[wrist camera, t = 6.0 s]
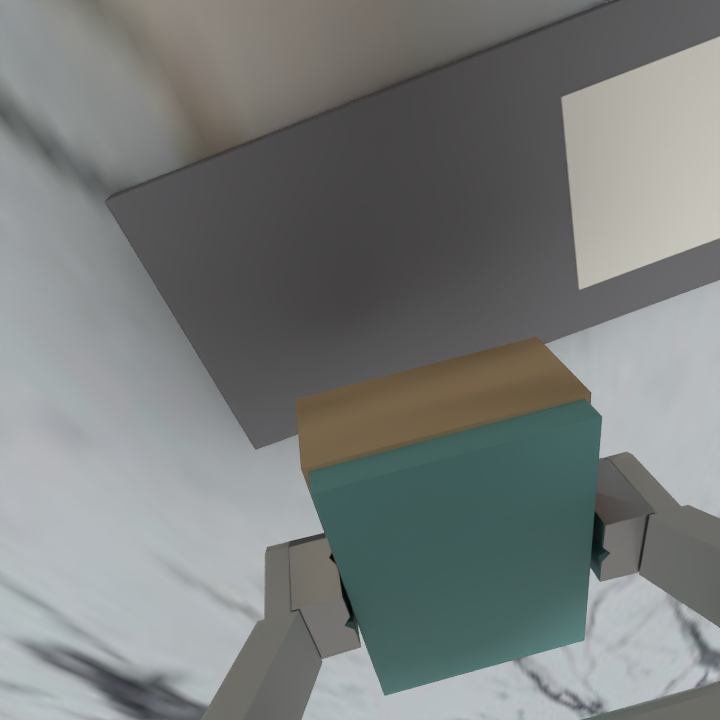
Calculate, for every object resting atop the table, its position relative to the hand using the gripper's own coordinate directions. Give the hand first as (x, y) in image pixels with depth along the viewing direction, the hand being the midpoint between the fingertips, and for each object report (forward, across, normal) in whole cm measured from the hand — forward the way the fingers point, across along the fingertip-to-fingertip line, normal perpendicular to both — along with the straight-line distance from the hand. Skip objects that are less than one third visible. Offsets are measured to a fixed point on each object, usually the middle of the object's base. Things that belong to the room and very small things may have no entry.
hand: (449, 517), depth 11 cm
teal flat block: (+1, 0, 0) cm, 1 cm away
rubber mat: (+15, -7, -1) cm, 16 cm away
